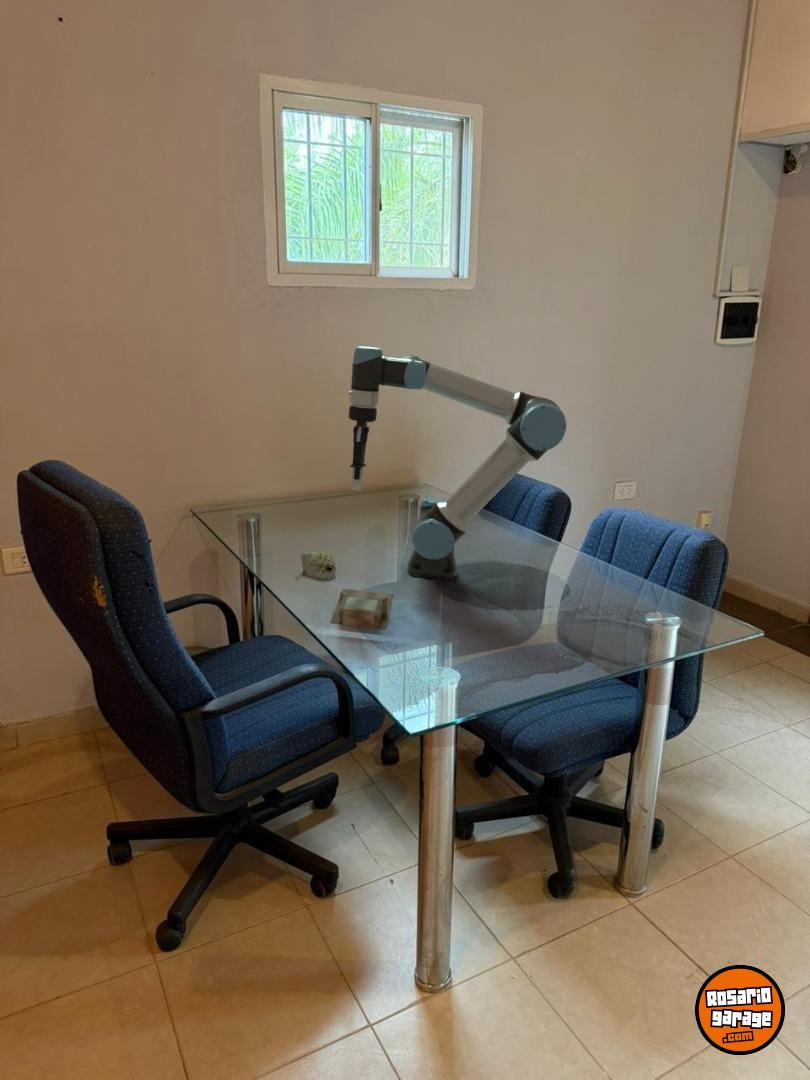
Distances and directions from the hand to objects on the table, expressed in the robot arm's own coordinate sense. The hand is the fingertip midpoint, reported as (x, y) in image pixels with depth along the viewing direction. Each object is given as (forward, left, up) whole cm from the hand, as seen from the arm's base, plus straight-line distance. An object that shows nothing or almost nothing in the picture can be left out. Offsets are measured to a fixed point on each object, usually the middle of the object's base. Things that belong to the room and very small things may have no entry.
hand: (356, 489), depth 210 cm
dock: (-7, +24, -26) cm, 36 cm away
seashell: (+9, +2, -27) cm, 28 cm away
